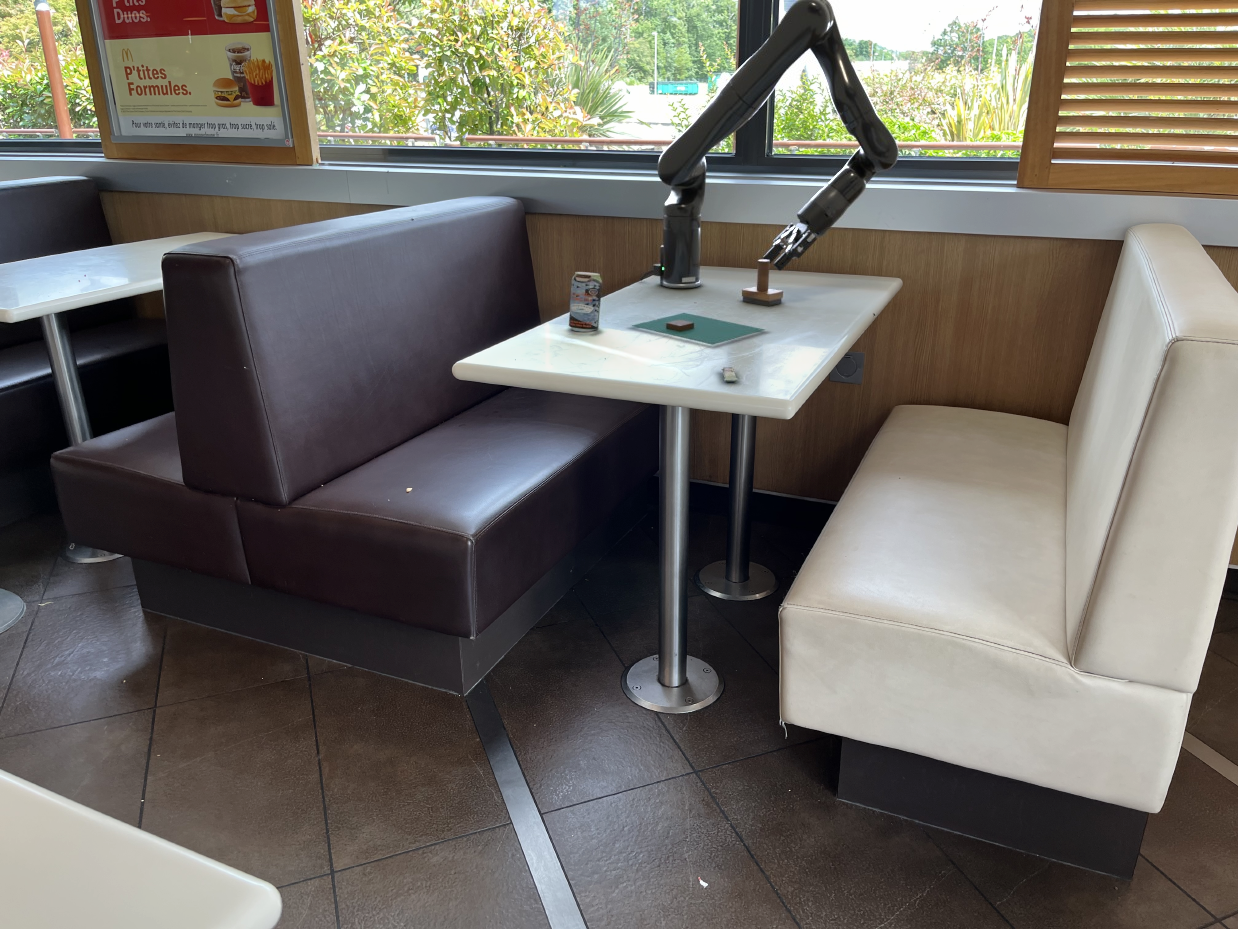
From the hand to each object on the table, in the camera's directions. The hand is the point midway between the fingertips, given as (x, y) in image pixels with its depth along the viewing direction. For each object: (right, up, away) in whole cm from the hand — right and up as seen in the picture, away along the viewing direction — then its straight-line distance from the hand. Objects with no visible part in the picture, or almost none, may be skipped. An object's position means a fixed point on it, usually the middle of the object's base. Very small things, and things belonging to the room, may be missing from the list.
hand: (770, 264), depth 201 cm
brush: (-1, -8, +3) cm, 9 cm away
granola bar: (-16, -31, -51) cm, 62 cm away
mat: (-18, -18, -21) cm, 33 cm away
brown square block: (-22, -18, -21) cm, 35 cm away
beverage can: (-41, -18, -20) cm, 49 cm away
